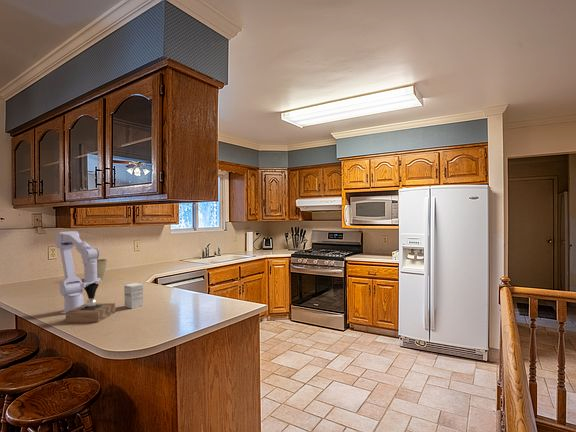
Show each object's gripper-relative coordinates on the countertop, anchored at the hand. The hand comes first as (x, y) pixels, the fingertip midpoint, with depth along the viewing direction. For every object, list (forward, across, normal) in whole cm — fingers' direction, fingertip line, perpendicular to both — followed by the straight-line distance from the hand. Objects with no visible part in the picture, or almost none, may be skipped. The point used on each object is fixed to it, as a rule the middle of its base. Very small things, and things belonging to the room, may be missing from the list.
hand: (91, 298), depth 170 cm
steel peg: (+6, 0, 0) cm, 6 cm away
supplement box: (+10, +19, -13) cm, 25 cm away
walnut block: (+10, 0, 0) cm, 10 cm away
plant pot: (+10, +99, +54) cm, 113 cm away
